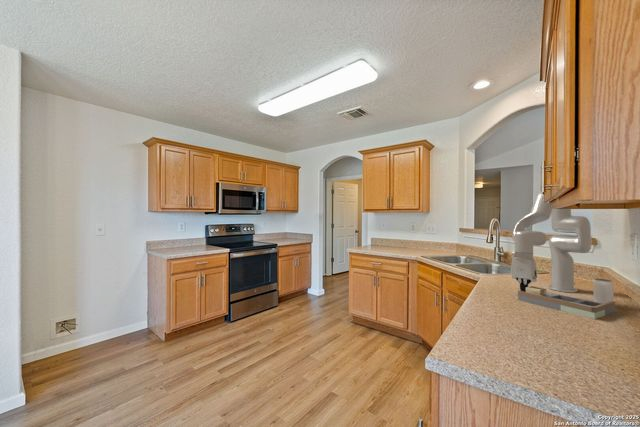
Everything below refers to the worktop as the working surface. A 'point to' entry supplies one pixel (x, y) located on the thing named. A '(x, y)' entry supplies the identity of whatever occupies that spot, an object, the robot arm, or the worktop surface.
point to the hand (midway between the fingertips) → (524, 291)
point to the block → (536, 290)
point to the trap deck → (569, 304)
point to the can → (603, 291)
